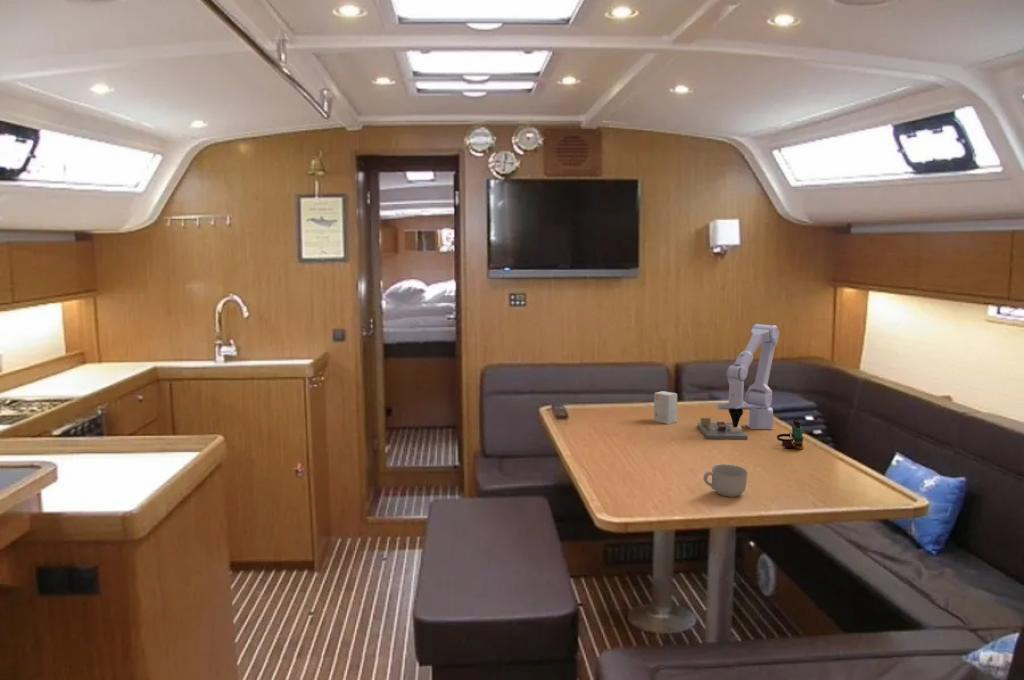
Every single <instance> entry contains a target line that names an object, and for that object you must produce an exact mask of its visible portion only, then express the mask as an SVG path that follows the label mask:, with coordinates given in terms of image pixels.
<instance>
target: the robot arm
mask: <svg viewBox="0 0 1024 680" xmlns="http://www.w3.org/2000/svg"><path fill="white" fill-rule="evenodd" d="M750 335H751V337H750V338H749V340H748V343H747V344H746V345H747V346H746V348H745V349H744V350H742V351H741V352H740V353H739V354H738V356H737V358H736V360H735V361H734V363H732V364H731V365H730V366H728V367H727V370H726V377H727V382H728V384H729V386H728V387H729V388H728V403H717V409H716V410H718V411H720V410H728V413H729V416H730V418H731V420H732V421H731V423H733V427H737V426H738V425H739V421H740V420H741V417H742V415H744V411H745V410H749V411H748V414H749V415H748V423H746V426H747V427H748V428H749V429H750V430H774V428H773V426H774V425H773V424H774V410H773V407H771V405H772V403H773V390H772V389H771V388H770V387H769V385H768V384H769V378H770V374H771V368H772V363H773V357H774V353H775V350H776V349H775V348H776V346H778V343H779V337H780V330H779V328H778V326H777V325H774V324H773V325H772V324H770V325H769V324H761V323H755V324H754V325H753V326H752V328H751V330H750ZM759 346H760V347H761V350H760V353H759V359H758V365H757V370H756V375H755V380H754V383H752V384H751V385H749V386H748V388H747V391H746V394H745V393H744V391H745V390H744V389H745V386H744V384H745V379H746V378H747V376H748V373H749V367H750V366H751V363H752V362H753V360H754V356H753V355H754V353H755V352H756V351H757V349H758V348H759ZM744 394H745V397H744ZM744 399H745V402H746V403H744Z"/></svg>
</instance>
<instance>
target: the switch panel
mask: <svg viewBox="0 0 1024 680" xmlns="http://www.w3.org/2000/svg"><path fill="white" fill-rule="evenodd" d="M724 423H725V425H726V429H719V427H718V425H717V422H710V425H700V422H697V426H698V427H697V428H699V431H700V432H702V434H703V435H704V437H705V439H706V440H741V441H742V440H748V434H746V432H745V431H743V429H742V432H730V431H729V425H733V422H724Z"/></svg>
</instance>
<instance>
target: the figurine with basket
mask: <svg viewBox="0 0 1024 680" xmlns="http://www.w3.org/2000/svg"><path fill="white" fill-rule="evenodd" d="M792 422H793V424H791V432H789V433H780V434H777V435H776V440H778V441H779V442H782V443H781V444H782V446H783V447H784V449H791V448H795V449H798V450H804V445H803V443H804V436H803V435H804V434H805V431H804V430H803V428H802V426H801V424H802V422H800V419H798V418H793V419H792ZM782 437H789V438H788V439H787V438H782Z"/></svg>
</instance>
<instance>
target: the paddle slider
mask: <svg viewBox="0 0 1024 680" xmlns="http://www.w3.org/2000/svg"><path fill="white" fill-rule="evenodd" d="M699 423H700V425H710V423H711V417H707V416H705V417H702V416H701V417H699Z"/></svg>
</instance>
